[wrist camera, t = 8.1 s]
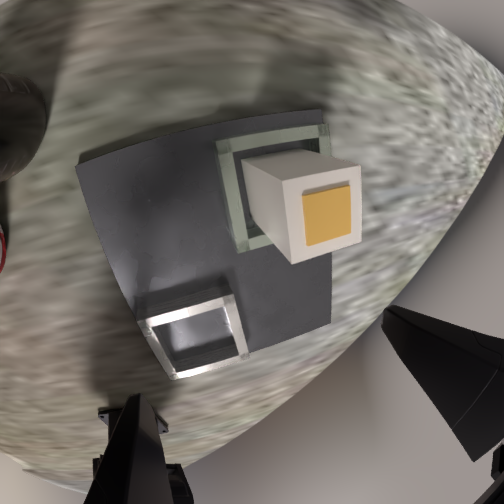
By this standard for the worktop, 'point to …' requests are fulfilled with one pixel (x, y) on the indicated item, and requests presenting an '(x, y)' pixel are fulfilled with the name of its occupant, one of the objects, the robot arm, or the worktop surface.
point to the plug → (305, 201)
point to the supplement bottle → (19, 123)
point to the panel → (205, 242)
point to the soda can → (2, 249)
